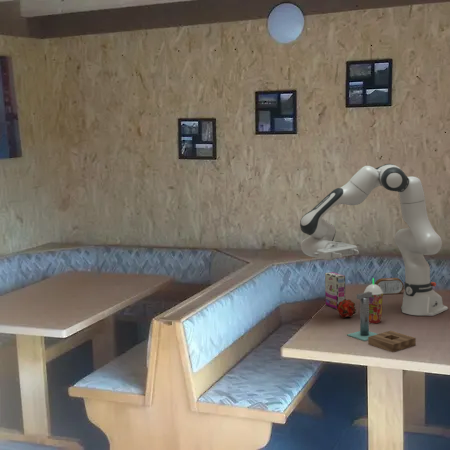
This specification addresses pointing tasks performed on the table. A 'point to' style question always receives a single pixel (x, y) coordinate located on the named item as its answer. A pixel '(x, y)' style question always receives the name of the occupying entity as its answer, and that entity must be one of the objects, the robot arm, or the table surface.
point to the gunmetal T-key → (364, 312)
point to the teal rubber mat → (363, 338)
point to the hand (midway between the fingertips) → (349, 254)
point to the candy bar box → (334, 289)
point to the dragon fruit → (346, 308)
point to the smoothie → (375, 302)
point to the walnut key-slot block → (392, 341)
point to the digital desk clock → (390, 285)
